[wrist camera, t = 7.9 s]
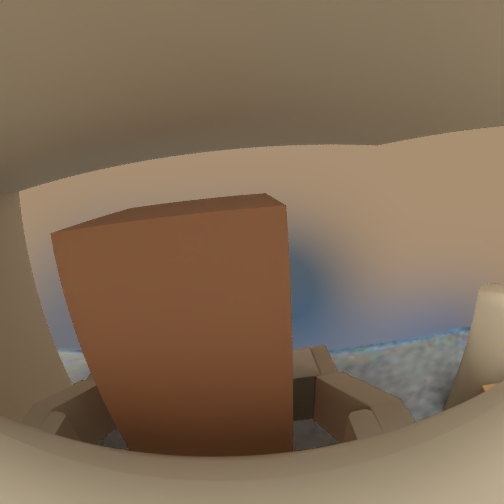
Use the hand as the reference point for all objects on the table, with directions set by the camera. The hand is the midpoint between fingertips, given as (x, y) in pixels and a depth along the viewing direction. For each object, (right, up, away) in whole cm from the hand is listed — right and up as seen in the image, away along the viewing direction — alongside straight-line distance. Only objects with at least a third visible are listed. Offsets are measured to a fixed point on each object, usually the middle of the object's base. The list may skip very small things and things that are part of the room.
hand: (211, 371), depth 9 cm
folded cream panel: (-2, -9, +2) cm, 10 cm away
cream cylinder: (+17, -7, +4) cm, 19 cm away
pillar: (+1, -8, +1) cm, 8 cm away
